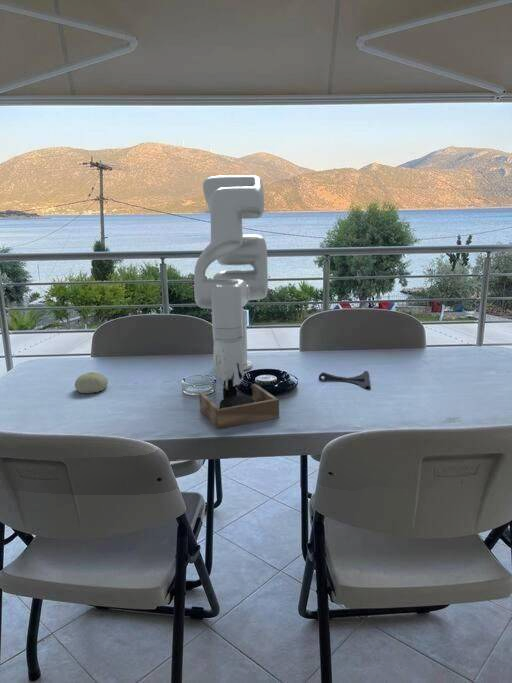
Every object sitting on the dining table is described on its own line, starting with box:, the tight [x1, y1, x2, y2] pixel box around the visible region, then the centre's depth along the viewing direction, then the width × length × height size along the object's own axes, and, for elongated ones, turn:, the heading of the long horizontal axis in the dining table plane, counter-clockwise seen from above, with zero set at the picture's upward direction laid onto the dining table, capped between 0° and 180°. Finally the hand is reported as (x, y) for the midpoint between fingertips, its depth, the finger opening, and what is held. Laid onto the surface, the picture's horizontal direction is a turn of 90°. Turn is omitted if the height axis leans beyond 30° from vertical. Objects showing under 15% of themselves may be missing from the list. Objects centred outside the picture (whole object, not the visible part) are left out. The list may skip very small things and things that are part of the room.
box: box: [198, 383, 280, 430], centre depth 119 cm, size 14×16×4 cm
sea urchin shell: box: [74, 371, 109, 394], centre depth 140 cm, size 9×8×8 cm
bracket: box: [318, 370, 372, 390], centre depth 143 cm, size 14×15×3 cm
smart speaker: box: [219, 395, 255, 409], centre depth 118 cm, size 9×9×4 cm
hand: (230, 402), depth 125 cm, fingers closed
